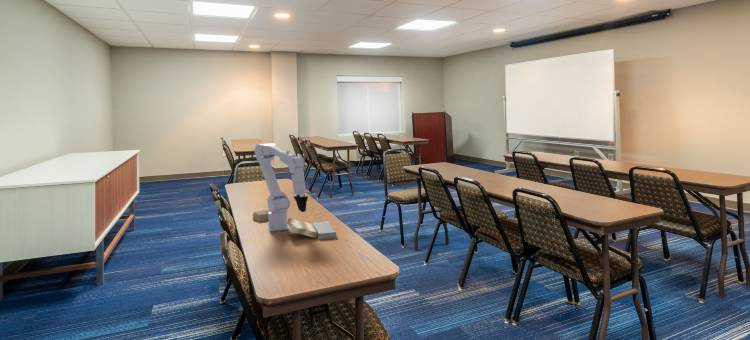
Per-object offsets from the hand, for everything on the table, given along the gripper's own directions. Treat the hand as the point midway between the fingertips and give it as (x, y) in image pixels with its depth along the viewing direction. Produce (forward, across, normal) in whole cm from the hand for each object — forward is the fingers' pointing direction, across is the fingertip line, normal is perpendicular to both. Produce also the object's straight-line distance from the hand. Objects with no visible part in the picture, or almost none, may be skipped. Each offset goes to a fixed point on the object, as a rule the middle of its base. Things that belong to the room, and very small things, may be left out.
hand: (302, 210), depth 202 cm
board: (+12, +3, -9) cm, 16 cm away
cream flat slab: (+9, +2, +2) cm, 10 cm away
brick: (+7, +42, +14) cm, 44 cm away
